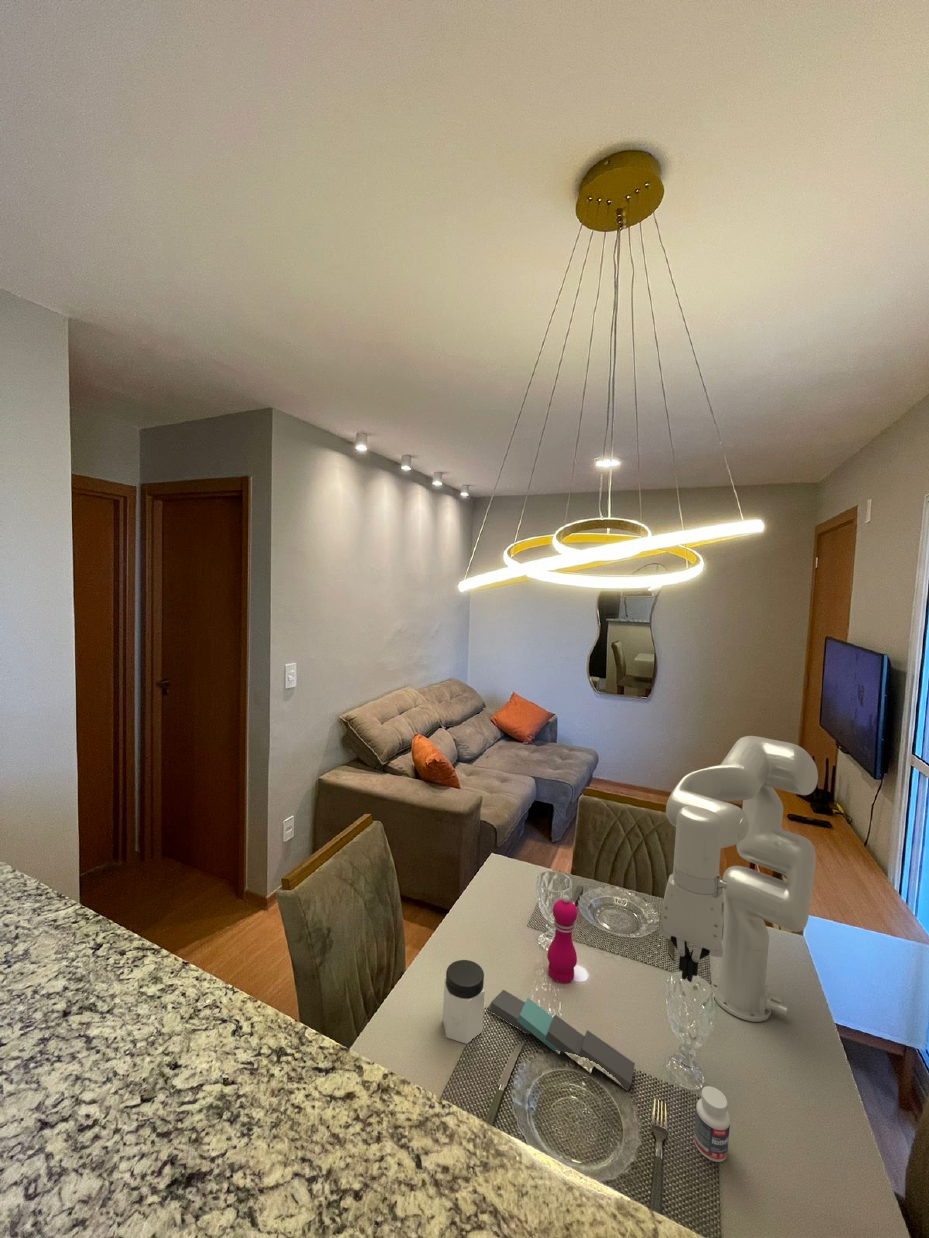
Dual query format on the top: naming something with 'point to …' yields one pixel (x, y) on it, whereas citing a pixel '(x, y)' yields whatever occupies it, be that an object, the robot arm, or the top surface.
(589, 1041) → the domino
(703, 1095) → the pill bottle
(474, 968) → the jar
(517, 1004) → the domino
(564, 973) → the pepper mill
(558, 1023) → the domino
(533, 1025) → the domino
